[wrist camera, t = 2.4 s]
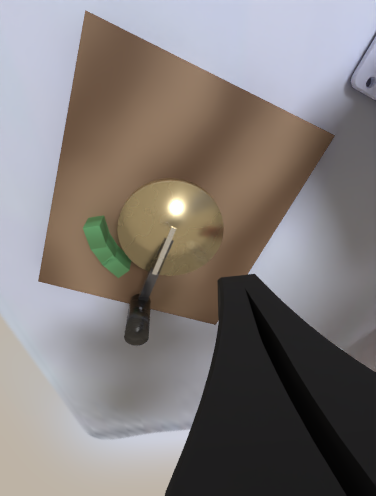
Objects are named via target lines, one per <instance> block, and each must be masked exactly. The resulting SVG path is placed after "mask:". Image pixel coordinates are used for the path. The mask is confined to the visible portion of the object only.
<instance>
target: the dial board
mask: <svg viewBox="0 0 376 496" xmlns="http://www.w3.org/2000/svg"><path fill="white" fill-rule="evenodd" d="M334 136H335V135H333V134H331V133H329V132H327V131H325V130H323V129H321V128H319V127H317V126H315V125H313V124H311V123H309V122H307V121H305V120H303V119H301V118H299V117H297V116H295V115H293V114H291V113H289V112H287V111H285V110H283V109H281V108H279V107H277V106H275V105H273V104H271V103H269V102H267V101H265V100H263V99H261V98H259V97H257V96H255V95H253V94H251V93H249V92H247V91H245V90H243V89H241V88H239V87H237V86H235V85H233V84H231V83H229V82H227V81H225V80H223V79H221V78H219V77H217V76H215V75H213V74H211V73H209V72H207V71H205V70H203V69H201V68H199V67H197V66H195V65H193V64H191V63H189V62H187V61H185V60H183V59H181V58H179V57H177V56H175V55H173V54H171V53H169V52H167V51H165V50H163V49H161V48H159V47H157V46H155V45H153V44H151V43H149V42H147V41H145V40H143V39H141V38H139V37H137V36H135V35H133V34H131V33H129V32H127V31H125V30H123V29H121V28H119V27H117V26H115V25H113V24H112V23H110V22H108V21H106V20H104V19H102V18H100V17H98V16H96V15H94V14H92V13H90V12H88V11H86V10H85V16H84V22H83V27H82V33H81V39H80V45H79V50H78V56H77V62H76V68H75V73H74V79H73V85H72V91H71V96H70V102H69V108H68V114H67V119H66V125H65V131H64V136H63V142H62V148H61V154H60V159H59V165H58V171H57V177H56V182H55V188H54V194H53V200H52V205H51V211H50V217H49V223H48V228H47V234H46V240H45V246H44V251H43V257H42V263H41V269H40V274H39V280H38V281H39V282H43V283H47V284H51V285H55V286H59V287H63V288H68V289H72V290H76V291H80V292H84V293H88V294H92V295H96V296H100V297H104V298H108V299H112V300H117V301H121V302H125V303H129V304H130V299H131V297H132V296H134V295H136V294H139V292H140V290H141V288H142V285H143V283H144V280H145V278H146V275H147V273H148V271H146V270H144V269H142V268H141V267H139V266H137V265H136V264H135V263H134V262H132V261H131V260H130V259H129V258H128V256H127V255H126V254H125V252H124V251H123V249H122V247H121V244H120V242H119V238H118V230H117V228H118V220H119V216H120V213H121V210H122V208H123V205H124V204H125V202H126V200H127V199H128V198H129V197H130V195H131V194H132V193H133V192H134V191H135V190H137V189H138V188H140V187H141V186H143V185H145V184H147V183H149V182H152V181H154V180H159V179H165V178H177V179H183V180H187V181H190V182H192V183H194V184H197V185H198V186H200V187H202V188H203V189H204V190H205V191H207V192H208V193H209V194H210V195H211V196H212V198H213V199H214V200H215V202H216V204H217V206H218V208H219V210H220V212H221V215H222V219H223V225H224V232H223V238H222V242H221V244H220V247H219V249H218V250H217V252H216V254H215V255H214V256H213V257H212V259H210V260H209V261H208V262H207V263H206V264H205V265H203V266H202V267H200V268H198V269H197V270H194V271H192V272H189V273H186V274H182V275H174V276H166V275H159V276H158V278H157V280H156V283H155V285H154V287H153V289H152V292H151V294H150V296H149V298H150V300H151V305H150V309H153V310H157V311H161V312H165V313H170V314H174V315H178V316H182V317H186V318H190V319H194V320H198V321H202V322H206V323H210V324H214V325H216V323H217V322H218V320H219V319H218V282H217V280H218V279H219V278H220V277H229V276H239V275H247V274H248V273H249V271H250V269H251V268H252V266H253V265H254V263H255V262H256V260H257V258H258V257H259V255H260V254H261V252H262V250H263V249H264V247H265V246H266V244H267V243H268V241H269V239H270V238H271V236H272V235H273V233H274V231H275V230H276V228H277V227H278V225H279V223H280V222H281V220H282V219H283V217H284V216H285V214H286V212H287V211H288V209H289V208H290V206H291V204H292V203H293V201H294V200H295V198H296V197H297V195H298V193H299V192H300V190H301V189H302V187H303V185H304V184H305V182H306V181H307V179H308V178H309V176H310V174H311V173H312V171H313V170H314V168H315V166H316V165H317V163H318V162H319V160H320V158H321V157H322V155H323V154H324V152H325V151H326V149H327V147H328V146H329V144H330V143H331V141H332V139H333V138H334Z"/></svg>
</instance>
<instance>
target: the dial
mask: <svg viewBox="0 0 376 496" xmlns="http://www.w3.org/2000/svg"><path fill="white" fill-rule="evenodd" d="M117 230H118V238H119V242H120V244H121V247H122V249H123V251H124V252H125V254H126V255H127V256H128V258H129V259H130V260H131V261H132V262H134V263H135V264H136V265H137V266H139V267H141V268H142V269H144V270H146V271H148V273H147V275H146V278H145V280H144V283H143V285H142V288H141V290H140V292H139V294H136V295H134V296H132V297H131V299H130V305H129V311H128V317H127V324H126V330H125V336H124V338H125V340H126V342H127V343H129V344H131V345H142V344H144V343H146V342H147V340H148V336H149V321H150V305H151V300H150V298H149V296H150V294H151V292H152V289H153V287H154V285H155V283H156V280H157V278H158V276H159V275H166V276H174V275H182V274H186V273H189V272H192V271H194V270H197V269H198V268H200V267H202V266H203V265H205V264H206V263H207V262H208V261H209V260H210V259H212V257H213V256H214V255H215V254H216V252H217V250H218V249H219V247H220V244H221V242H222V238H223V232H224V225H223V219H222V215H221V212H220V210H219V208H218V206H217V204H216V202H215V200H214V199H213V198H212V196H211V195H210V194H209V193H208V192H207V191H205V190H204V189H203V188H202V187H200V186H198V185H197V184H194V183H192V182H190V181H187V180H183V179H177V178H165V179H159V180H154V181H152V182H149V183H147V184H145V185H143V186H141V187H140V188H138V189H137V190H135V191H134V192H133V193H132V194H131V195H130V197H129V198H128V199H127V200H126V202H125V204H124V205H123V208H122V210H121V213H120V216H119V220H118V228H117Z"/></svg>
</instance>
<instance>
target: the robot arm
mask: <svg viewBox="0 0 376 496" xmlns="http://www.w3.org/2000/svg"><path fill="white" fill-rule="evenodd" d="M369 78H371V83H370V85H369V86H368V87H366V82H367V80H368V79H369ZM351 85H352V87H353V88H355V89H356V90H358V91H360V92H362V93H363V94H365V95H367V96H369V97H370V98H372V99H374V100H376V37H375V39H374V40H373V42H372V44H371V45H370V47H369V49H368V50H367V52H366V54H365V55H364V57H363V59H362V60H361V62H360V64H359V65H358V67H357V69H356V70H355V72H354V74H353V76H352V78H351ZM217 282H218V319H219V325H218V332H217V338H216V344H215V349H214V353H213V358H212V362H211V366H210V370H209V374H208V377H207V381H206V384H205V388H204V391H203V395H202V398H201V401H200V404H199V407H198V410H197V413H196V416H195V418H194V421H193V424H192V427H191V430H190V432H189V436H188V438H187V441H186V443H185V446H184V449H183V451H182V454H181V456H180V458H179V461H178V463H177V466H176V468H175V470H174V473H173V475H172V478H171V480H170V483H169V485H168V487H167V490H166V493H165V496H376V372H374V371H372V370H371V369H369V368H368V367H366V366H365V365H363V364H362V363H360V362H358V361H357V360H355V359H354V358H353V357H351V356H350V355H348V354H347V353H345V352H344V351H343V350H341V349H340V348H338V347H337V346H336V345H334V344H333V343H331V342H330V341H329V340H327V339H326V338H325V337H323V336H322V335H321V334H320V333H318V332H317V331H316V330H315V329H314V328H312V327H311V326H310V325H309V324H307V323H306V322H305V321H304V320H303V319H302V318H300V317H299V316H298V315H297V314H296V313H295V312H294V311H293V310H291V309H290V308H289V307H288V306H287V305H286V304H285V303H284V302H283V301H282V300H281V299H279V298H278V297H277V296H276V295H275V294H274V293H273V292H272V291H271V290H270V289H269V288H268V287H267V286H266V285H265V284H264V283H263V282H262V281H261V280H260V279H259V278H258V277H257V276H256V275H255V274H249V275H239V276H229V277H220V278H219V279H218V280H217Z"/></svg>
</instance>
